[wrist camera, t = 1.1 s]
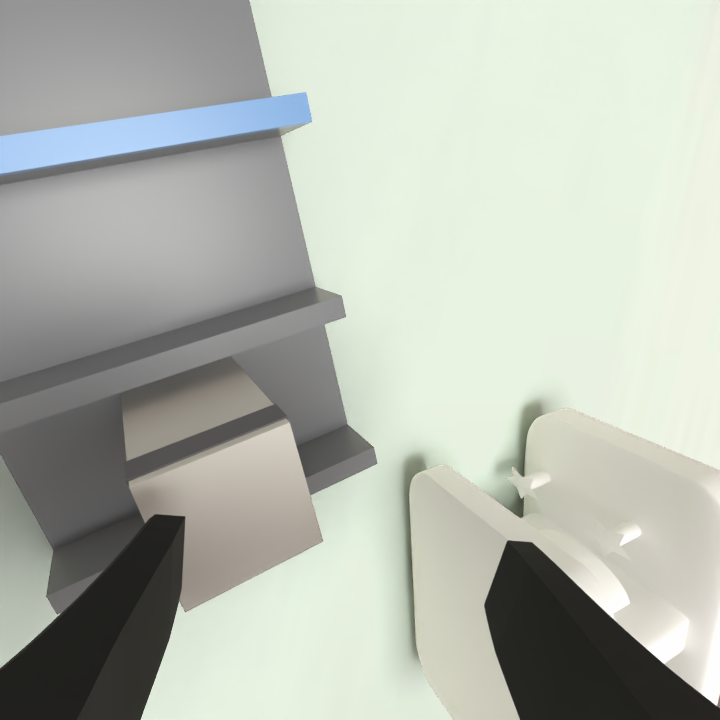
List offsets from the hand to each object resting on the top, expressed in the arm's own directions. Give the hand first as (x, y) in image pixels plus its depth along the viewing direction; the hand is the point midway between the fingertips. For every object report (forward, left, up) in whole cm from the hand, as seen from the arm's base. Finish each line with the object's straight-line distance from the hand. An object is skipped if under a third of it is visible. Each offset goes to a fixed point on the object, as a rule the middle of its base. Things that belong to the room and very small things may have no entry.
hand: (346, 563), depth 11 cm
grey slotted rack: (-2, +7, -11) cm, 13 cm away
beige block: (-2, 0, -10) cm, 10 cm away
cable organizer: (+11, -13, -11) cm, 21 cm away
